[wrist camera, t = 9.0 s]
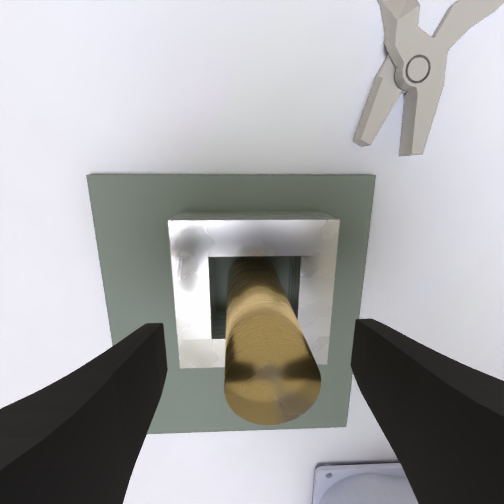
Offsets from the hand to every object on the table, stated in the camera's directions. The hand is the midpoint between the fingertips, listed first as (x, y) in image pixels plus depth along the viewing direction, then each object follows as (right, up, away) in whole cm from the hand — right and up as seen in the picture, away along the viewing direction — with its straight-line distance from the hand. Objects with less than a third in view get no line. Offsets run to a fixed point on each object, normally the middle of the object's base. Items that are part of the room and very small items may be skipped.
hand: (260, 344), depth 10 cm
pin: (0, +2, +7) cm, 7 cm away
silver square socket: (0, +2, +7) cm, 7 cm away
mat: (-1, -1, +8) cm, 8 cm away
